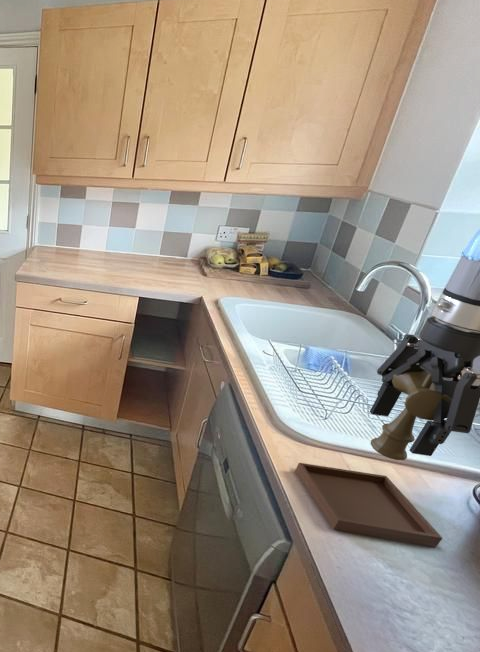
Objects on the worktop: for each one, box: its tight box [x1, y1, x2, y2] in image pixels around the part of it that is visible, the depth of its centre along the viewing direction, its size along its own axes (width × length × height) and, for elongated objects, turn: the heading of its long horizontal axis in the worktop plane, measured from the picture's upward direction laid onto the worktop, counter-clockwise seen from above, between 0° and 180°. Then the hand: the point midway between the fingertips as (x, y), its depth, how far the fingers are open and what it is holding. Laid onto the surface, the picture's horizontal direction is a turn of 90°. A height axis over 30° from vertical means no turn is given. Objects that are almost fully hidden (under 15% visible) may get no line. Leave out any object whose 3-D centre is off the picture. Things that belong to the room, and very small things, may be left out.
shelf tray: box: [294, 462, 443, 548], centre depth 81 cm, size 16×14×2 cm
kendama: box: [370, 370, 452, 461], centre depth 73 cm, size 6×10×20 cm, turn 146°
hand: (398, 432), depth 75 cm, fingers closed on kendama, 10 cm apart
